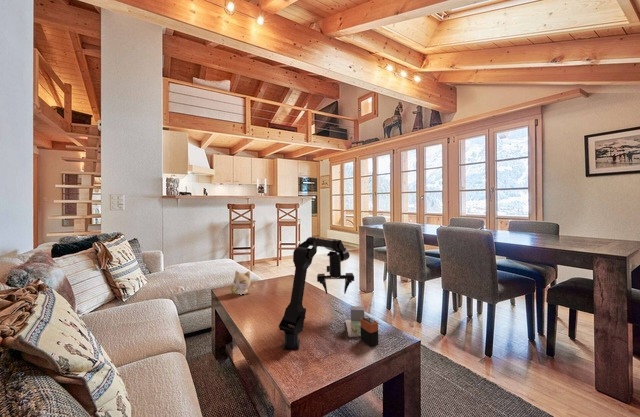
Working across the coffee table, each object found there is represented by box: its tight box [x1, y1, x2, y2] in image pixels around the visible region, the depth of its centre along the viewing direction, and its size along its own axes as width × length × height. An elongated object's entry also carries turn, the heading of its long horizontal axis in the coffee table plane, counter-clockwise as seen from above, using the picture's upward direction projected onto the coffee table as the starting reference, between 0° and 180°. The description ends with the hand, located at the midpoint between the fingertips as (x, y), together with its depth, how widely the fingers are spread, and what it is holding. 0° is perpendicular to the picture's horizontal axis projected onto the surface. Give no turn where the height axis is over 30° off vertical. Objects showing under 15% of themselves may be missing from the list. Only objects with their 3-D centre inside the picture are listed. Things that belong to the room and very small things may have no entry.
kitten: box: [230, 270, 256, 296], centre depth 172 cm, size 15×10×15 cm
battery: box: [360, 315, 379, 347], centre depth 110 cm, size 4×7×10 cm, turn 28°
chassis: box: [345, 319, 361, 338], centre depth 122 cm, size 14×10×4 cm
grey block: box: [350, 305, 365, 328], centre depth 122 cm, size 12×6×6 cm, turn 172°
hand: (335, 293), depth 137 cm, fingers open, 9 cm apart
